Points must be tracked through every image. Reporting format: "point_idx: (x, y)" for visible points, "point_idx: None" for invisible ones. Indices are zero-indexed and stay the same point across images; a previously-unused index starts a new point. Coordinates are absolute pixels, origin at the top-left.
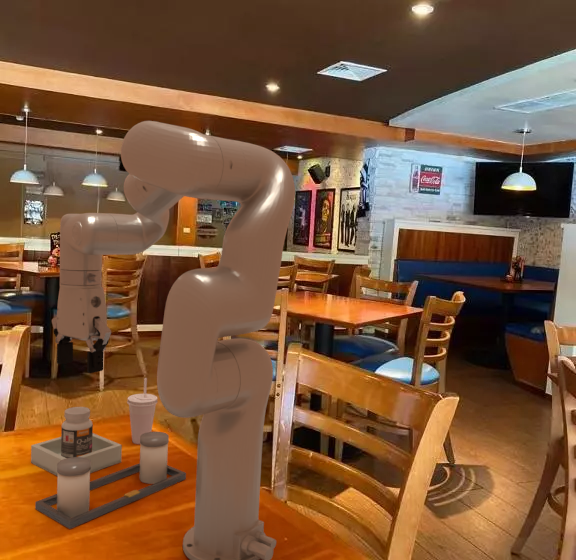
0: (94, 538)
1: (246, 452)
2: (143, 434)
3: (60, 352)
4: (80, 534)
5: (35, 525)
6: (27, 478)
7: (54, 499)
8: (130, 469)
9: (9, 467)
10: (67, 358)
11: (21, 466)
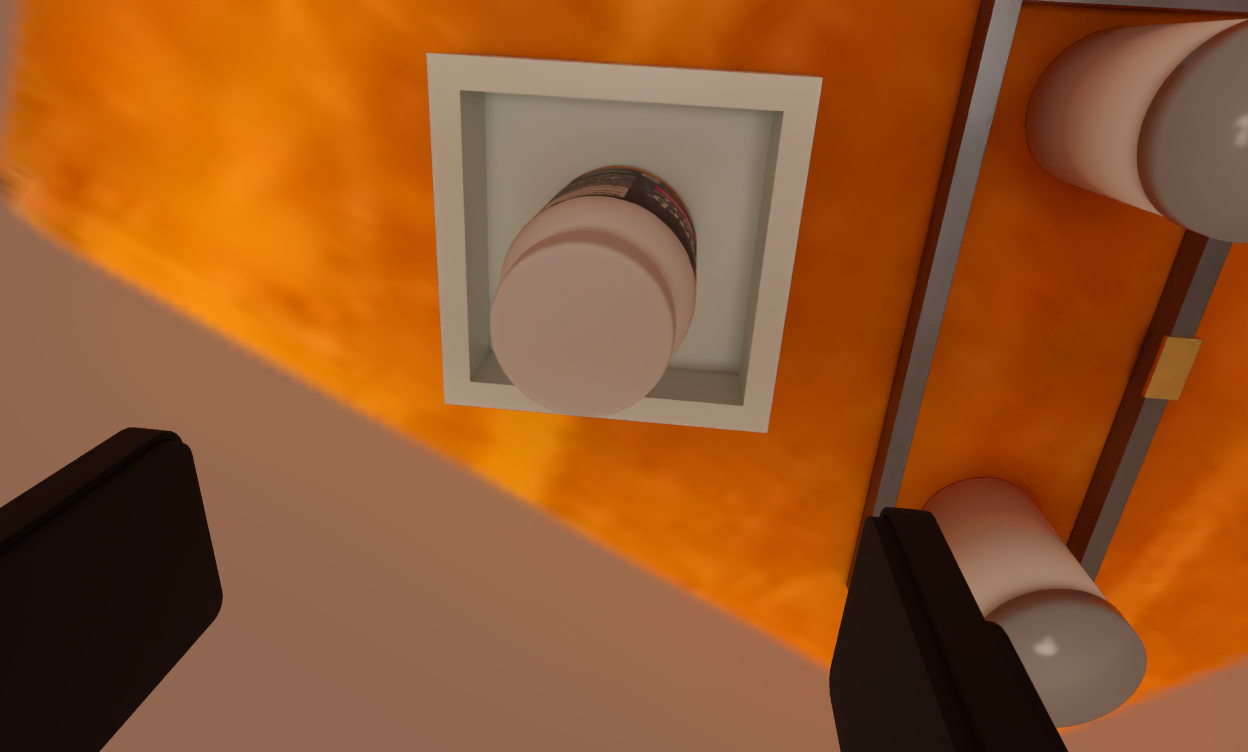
0: (1184, 602)
1: None
2: (1169, 157)
3: (105, 722)
4: (1120, 608)
5: None
6: (604, 463)
7: None
8: (979, 170)
9: (453, 443)
10: (164, 548)
11: (477, 410)
